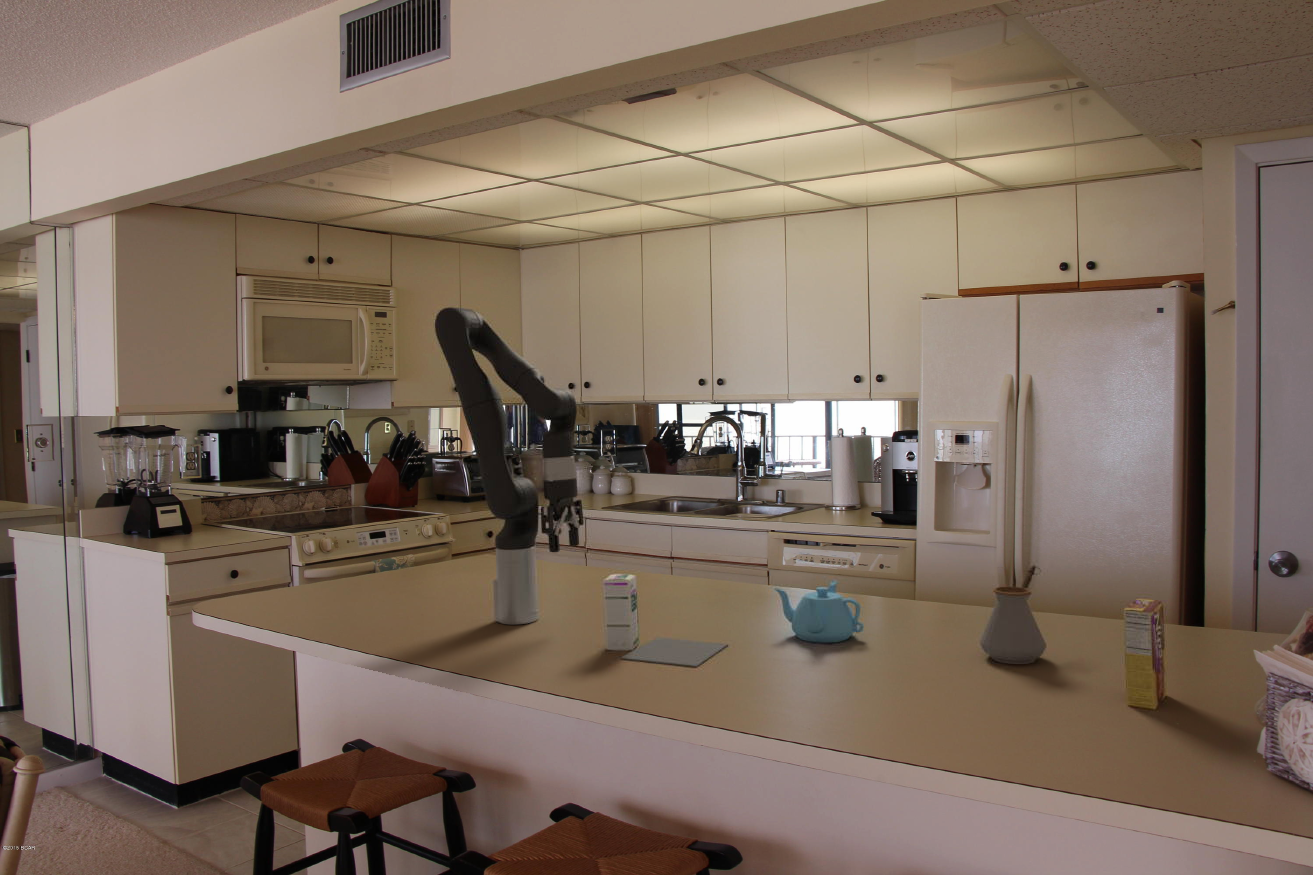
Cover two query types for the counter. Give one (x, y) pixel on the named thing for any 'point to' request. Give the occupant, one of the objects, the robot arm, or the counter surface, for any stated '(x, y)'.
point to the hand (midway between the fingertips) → (564, 548)
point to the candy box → (1145, 653)
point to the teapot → (822, 615)
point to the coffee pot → (1013, 627)
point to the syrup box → (621, 612)
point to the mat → (675, 652)
